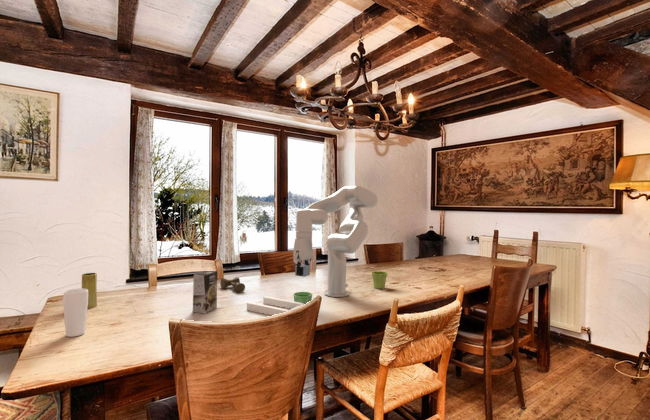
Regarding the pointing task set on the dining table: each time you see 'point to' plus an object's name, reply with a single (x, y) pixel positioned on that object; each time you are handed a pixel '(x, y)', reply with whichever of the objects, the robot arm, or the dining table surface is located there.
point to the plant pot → (379, 279)
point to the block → (304, 270)
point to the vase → (90, 288)
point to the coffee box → (205, 291)
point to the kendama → (232, 284)
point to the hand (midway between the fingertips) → (303, 273)
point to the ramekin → (302, 297)
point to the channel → (271, 309)
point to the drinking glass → (75, 311)
